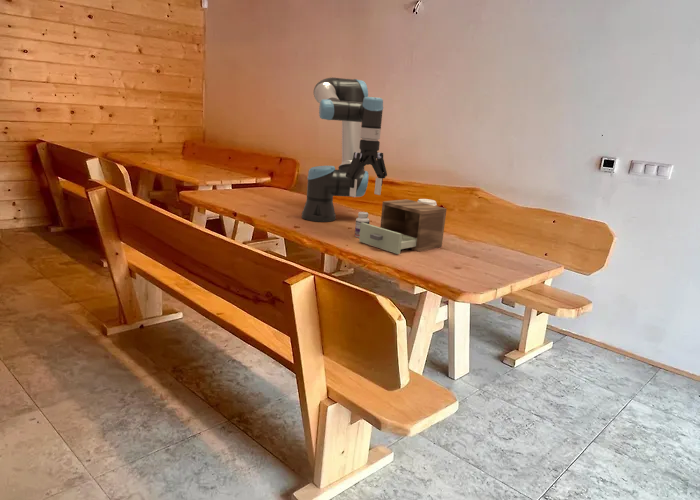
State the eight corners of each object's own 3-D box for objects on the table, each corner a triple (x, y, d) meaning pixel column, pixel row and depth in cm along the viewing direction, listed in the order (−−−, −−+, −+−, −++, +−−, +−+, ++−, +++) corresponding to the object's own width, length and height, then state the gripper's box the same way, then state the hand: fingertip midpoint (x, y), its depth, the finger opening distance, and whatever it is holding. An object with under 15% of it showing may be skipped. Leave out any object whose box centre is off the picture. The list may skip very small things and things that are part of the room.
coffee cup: (417, 238, 211) (421, 202, 207) (410, 233, 219) (413, 198, 215) (436, 238, 213) (441, 202, 209) (428, 233, 221) (432, 198, 217)
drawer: (354, 242, 196) (356, 223, 194) (384, 237, 207) (385, 219, 205) (392, 255, 182) (394, 235, 180) (422, 249, 193) (424, 230, 191)
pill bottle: (367, 235, 210) (369, 211, 207) (368, 238, 204) (370, 214, 202) (354, 234, 209) (356, 210, 207) (354, 238, 204) (356, 213, 202)
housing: (379, 239, 205) (382, 201, 201) (402, 235, 215) (406, 199, 211) (418, 251, 191) (422, 211, 187) (441, 246, 201) (446, 208, 197)
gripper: (352, 140, 186) (348, 198, 192) (399, 141, 203) (394, 195, 208) (338, 138, 191) (334, 195, 197) (385, 139, 208) (380, 192, 214)
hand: (365, 195), depth 203 cm, fingers open, 13 cm apart
